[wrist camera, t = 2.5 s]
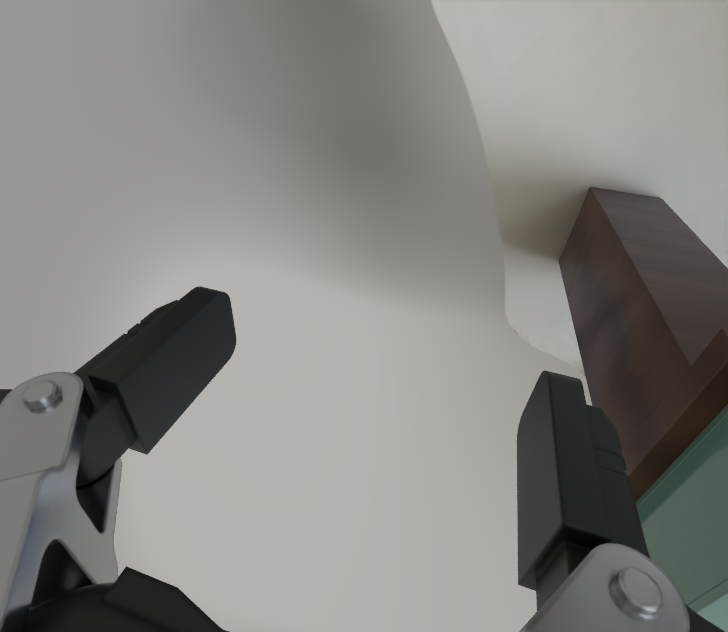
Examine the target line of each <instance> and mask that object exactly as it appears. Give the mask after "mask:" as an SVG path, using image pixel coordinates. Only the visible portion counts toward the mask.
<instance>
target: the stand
mask: <svg viewBox="0 0 728 632" xmlns="http://www.w3.org/2000/svg"><path fill="white" fill-rule="evenodd" d="M559 265H560V269H561V273H562V278H563V282H564V286H565V290H566V295H567V299H568V303H569V307H570V312H571V316H572V320H573V324H574V329H575V333H576V337H577V341H578V346H579V350H580V354H581V359H582V363H583V367H584V371H585V376H586V379H587V384H588V388H589V392H590V397H591V401H592V405H593V406H594V407H598V408H601V409H602V410H603V411H604V413H605V414H606V416H607V417H608V418H609V420H610V421H611V423H612V424H613V426H614V427H615V428H616V430H617V433H618V437H619V441H620V445H621V449H622V456H623V457H624V460H625V464H626V468H627V472H626V475H628V476H629V480H630V484H631V487H632V491H633V495H634V499H635V502H636V501H637V500H638V499H639V498H640V497H641V496H642V495H643V494H644V492H645V491H646V490H647V489H648V488H649V487H650V486H651V485H652V484H653V483H654V482H655V481H656V480H657V479H658V478H659V477H660V475H661V474H662V473H663V472H664V471H665V470H666V469H667V468H668V467H669V466H670V465H671V464H672V463H673V462H674V461H675V459H676V458H677V457H678V456H679V455H680V454H681V453H682V452H683V451H684V450H685V449H686V448H687V447H688V446H689V445H690V443H691V442H692V441H693V440H694V439H695V438H696V437H697V436H698V435H699V434H700V433H701V432H702V431H703V430H704V429H705V428H706V426H707V425H708V424H709V423H710V422H711V421H712V420H713V419H714V418H715V417H716V416H717V415H718V414H719V413H720V412H721V410H722V409H723V408H724V407H725V406H726V405H727V404H728V269H727V267H726V266H725V265H724V264H723V263H722V262H721V261H720V260H719V259H718V258H717V257H716V256H715V255H714V254H713V253H712V252H711V250H710V249H709V248H708V247H707V246H706V245H705V244H704V243H703V242H702V241H701V240H700V239H699V238H698V237H697V236H696V234H695V233H694V232H693V231H692V230H691V229H690V228H689V227H688V226H687V225H686V224H685V223H684V222H683V221H682V220H681V219H680V217H679V216H678V215H677V214H676V213H675V212H674V211H673V210H672V209H671V208H670V207H669V206H668V205H667V204H666V203H665V202H664V200H663V199H660V198H654V197H648V196H642V195H636V194H630V193H624V192H618V191H612V190H606V189H600V188H594V187H590V189H589V192H588V194H587V196H586V199H585V201H584V203H583V206H582V208H581V211H580V213H579V215H578V218H577V220H576V222H575V225H574V227H573V229H572V232H571V234H570V236H569V239H568V241H567V243H566V246H565V248H564V250H563V253H562V255H561V257H560V260H559Z"/></svg>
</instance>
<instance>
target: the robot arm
mask: <svg viewBox="0 0 728 632" xmlns="http://www.w3.org/2000/svg"><path fill="white" fill-rule="evenodd" d="M235 345H236V333H235V327H234V321H233V315H232V308H231V302H230V298H229V296H228V294H226V293H225V292H220V291H217V290H212V289H208V288H204V287H196V288H194V289H193V290H191V291H190V292H189V293H187V294H186V295H185V296H184V297H182V298H181V299H180V300H179V301H178V300H176V301H173V302H171V303H169V304H166V305H164V306H162V307H160V308H157V309H155V310H154V311H153V312H152V313H150V314H149V315H148V316H147V317H145V318H144V319H143V320H141V323H140V324H136V325H135V326H134V327H132V328H131V329H130V330H128V333H127V334H123V335H122V336H121V337H119V338H118V339H117V340H116V341H114V342H113V343H112V344H110V345H109V346H108V347H107V348H105V349H104V350H103V351H101V352H100V353H99V354H98V355H96V356H95V357H94V358H92V359H91V360H90V361H89V362H87V363H86V364H85V365H83V366H82V367H81V368H80V369H78V370H77V371H76V372H74V373H73V374H72V373H67V372H54V373H48V374H44V375H40V376H37V377H34V378H32V379H30V380H28V381H26V382H24V383H22V384H20V385H19V386H17V387H16V388H14V389H13V390H11V389H10V390H9V389H8V390H7V389H5V390H3V389H0V632H228V631H225V630H223V629H221V628H220V627H219V626H218V625H217V624H216V623H215V622H213V621H212V620H211V619H210V618H209V617H208V616H207V615H206V614H205V613H204V612H203V611H202V610H201V609H200V608H199V607H197V606H196V605H195V604H194V603H193V602H192V601H191V600H190V599H189V598H188V597H187V596H186V595H184V593H183V592H182V591H180V590H179V589H178V588H177V587H174V586H172V585H170V584H167V583H165V582H162V581H160V580H158V579H155V578H153V577H150V576H148V575H145V574H143V573H141V572H138V571H136V570H133V569H131V568H129V567H126V568H125V569H124V570H123V572H122V573H121V575H120V576H119V577H118V567H117V560H116V556H115V551H114V531H115V522H116V514H117V505H118V496H119V488H120V479H121V470H122V461H121V459H120V457H121V456H122V454H124V452H125V451H126V450H127V449H128V448H130V449H132V450H136V451H138V452H141V453H144V454H148V453H149V452H150V450H152V448H153V447H154V446H155V445H156V444H157V443H158V441H159V440H160V439H161V438H162V437H163V436H164V434H165V433H166V432H167V431H168V430H169V429H170V427H171V426H172V425H173V424H174V423H175V422H176V421H177V419H178V418H179V417H180V416H181V415H182V414H183V412H184V411H185V410H186V409H187V408H188V407H189V406H190V404H191V403H192V402H193V401H194V400H195V398H196V397H197V396H198V395H199V394H200V393H201V392H202V390H203V389H204V388H205V387H206V386H207V385H208V384H209V382H210V381H211V380H212V379H213V378H214V377H215V376H216V374H217V373H218V372H219V371H220V370H221V369H222V367H223V366H224V365H225V364H226V363H227V362H228V360H229V359H230V358H231V356H232V354H233V352H234V349H235ZM626 472H627V468H626V464H625V460H624V457H623V456H622V449H621V445H620V441H619V437H618V433H617V430H616V428H615V427H614V426H613V424H612V423H611V421H610V420H609V418H608V417H607V416H606V414H605V413H604V411H603V410H602V409H601V408H598V407H594V406H589V405H586V400H585V396H584V391H583V385H582V382H581V381H580V379H577V378H573V377H569V376H565V375H561V374H557V373H552V372H548V371H543V372H542V373H541V375H540V377H539V379H538V381H537V383H536V385H535V388H534V390H533V392H532V394H531V396H530V398H529V400H528V403H527V405H526V407H525V409H524V411H523V414H522V416H521V419H520V423H519V427H518V434H517V491H518V492H517V499H518V500H517V501H518V585H521V586H524V587H526V588H529V589H532V590H535V591H536V594H537V612H536V613H535V615H534V616H533V617H532V618H531V619H530V620H529V621H528V623H527V624H526V625H525V626H524V627H523V628H522V629H521V631H520V632H725V631H723V630H722V629H720V628H719V627H717V626H715V625H714V624H712V623H711V622H709V621H708V620H706V619H704V618H703V617H702V616H700V615H699V614H697V613H696V612H694V611H693V610H692V609H691V608H689V607H688V606H687V605H686V604H685V602H684V600H683V598H682V596H681V594H680V592H679V590H678V589H677V587H676V586H675V584H674V583H673V582H672V580H671V579H670V578H669V577H668V575H667V574H666V573H665V572H664V571H663V570H662V569H661V568H660V567H659V566H658V565H657V564H656V563H654V562H653V561H652V560H651V558H650V555H649V552H648V549H647V545H646V542H645V538H644V534H643V530H642V526H641V522H640V518H639V515H638V511H637V507H636V503H635V499H634V495H633V491H632V487H631V484H630V480H629V476H628V475H626Z"/></svg>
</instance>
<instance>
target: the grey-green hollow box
mask: <svg viewBox="0 0 728 632" xmlns="http://www.w3.org/2000/svg"><path fill="white" fill-rule="evenodd" d="M635 503H636V507H637V511H638V515H639V518H640V522H641V526H642V530H643V534H644V538H645V542H646V545H647V549H648V552H649V555H650V558H651V560H652V561H653V562H654V563H656V564H657V565H658V566H659V567H660V568H661V569H662V570H663V571H664V572H665V573H666V574H667V575H668V577H669V578H670V579H671V580H672V582H673V583H674V584H675V586H676V587H677V589H678V590H679V592H680V594H681V596H682V598H683V600H684V602H685V604H686V605H687V606H688V607H689V608H691V609H692V610H693V611H694V612H696V613H697V614H699V615H700V616H702V617H703V618H704V619H706V620H708V621H709V622H711V623H712V624H714V625H715V626H717V627H719V628H720V629H722V630H723V631H725V632H728V404H727V405H726V406H725V407H724V408H723V409H722V410H721V412H720V413H719V414H718V415H717V416H716V417H715V418H714V419H713V420H712V421H711V422H710V423H709V424H708V425H707V426H706V428H705V429H704V430H703V431H702V432H701V433H700V434H699V435H698V436H697V437H696V438H695V439H694V440H693V441H692V442H691V443H690V445H689V446H688V447H687V448H686V449H685V450H684V451H683V452H682V453H681V454H680V455H679V456H678V457H677V458H676V459H675V461H674V462H673V463H672V464H671V465H670V466H669V467H668V468H667V469H666V470H665V471H664V472H663V473H662V474H661V475H660V477H659V478H658V479H657V480H656V481H655V482H654V483H653V484H652V485H651V486H650V487H649V488H648V489H647V490H646V491H645V492H644V494H643V495H642V496H641V497H640V498H639V499H638V500H637V501H636V502H635Z"/></svg>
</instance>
